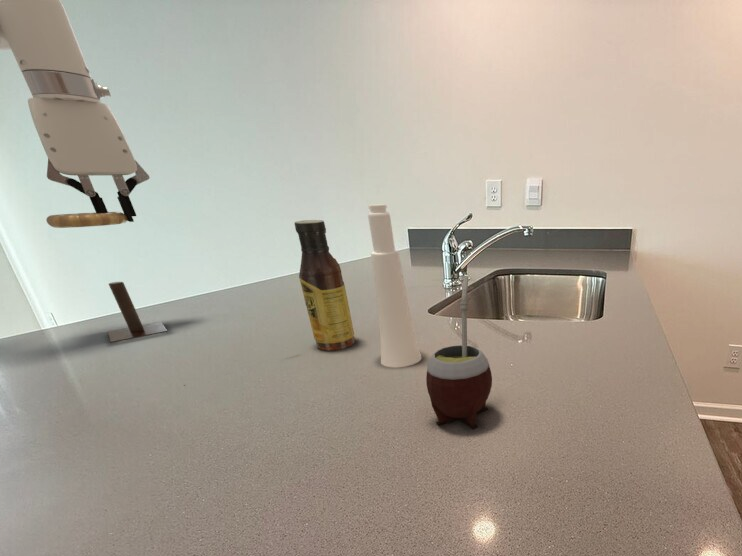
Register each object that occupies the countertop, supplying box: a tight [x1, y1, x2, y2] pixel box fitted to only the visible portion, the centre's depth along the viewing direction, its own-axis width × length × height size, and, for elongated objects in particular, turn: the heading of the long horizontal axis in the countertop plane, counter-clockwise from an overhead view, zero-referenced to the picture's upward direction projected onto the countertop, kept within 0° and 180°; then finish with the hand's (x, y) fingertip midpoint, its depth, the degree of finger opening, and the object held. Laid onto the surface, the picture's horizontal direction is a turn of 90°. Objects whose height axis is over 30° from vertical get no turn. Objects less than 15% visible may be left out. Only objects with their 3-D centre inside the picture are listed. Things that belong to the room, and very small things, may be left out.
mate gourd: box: [425, 275, 493, 430], centre depth 44 cm, size 8×8×15 cm
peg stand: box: [107, 281, 168, 344], centre depth 74 cm, size 8×8×10 cm
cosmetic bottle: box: [367, 203, 422, 368], centre depth 57 cm, size 6×6×22 cm
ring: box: [45, 211, 128, 229], centre depth 67 cm, size 10×10×2 cm
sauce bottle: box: [294, 219, 356, 352], centre depth 64 cm, size 6×6×20 cm
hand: (119, 221), depth 69 cm, fingers closed on ring, 2 cm apart
